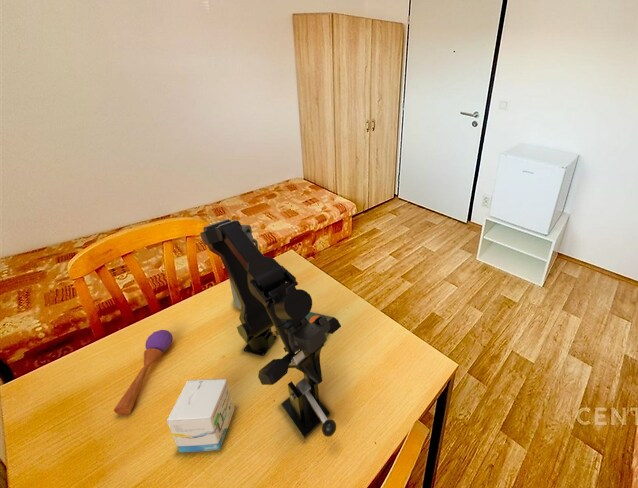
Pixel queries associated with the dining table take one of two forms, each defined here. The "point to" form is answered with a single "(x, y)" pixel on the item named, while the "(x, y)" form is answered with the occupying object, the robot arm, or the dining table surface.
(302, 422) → the bracket
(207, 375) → the dining table surface
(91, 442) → the dining table surface
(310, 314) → the button panel
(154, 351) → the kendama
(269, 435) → the dining table surface
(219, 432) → the ink box
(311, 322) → the button
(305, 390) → the lever
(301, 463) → the dining table surface
